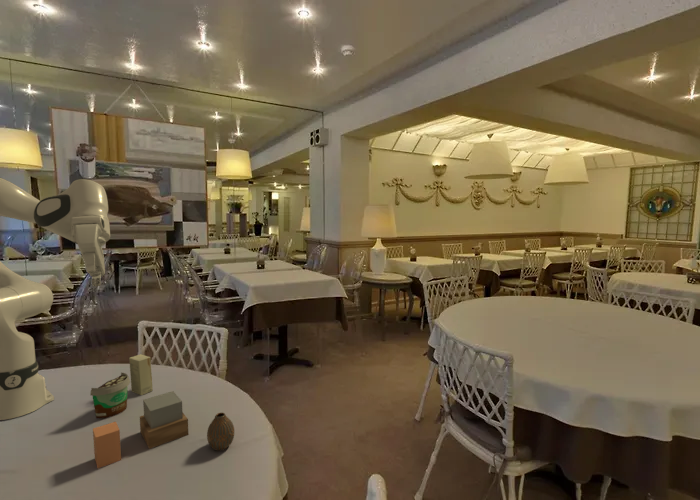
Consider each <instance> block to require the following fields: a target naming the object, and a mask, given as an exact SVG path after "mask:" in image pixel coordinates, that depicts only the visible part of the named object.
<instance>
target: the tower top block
mask: <svg viewBox="0 0 700 500" xmlns="http://www.w3.org/2000/svg"><path fill="white" fill-rule="evenodd" d="M142 400H143V402H142V404H143V415H144V417H145V419H146V421H147V422H148V424H149V426H150V427H151V429H153V428H156V427H159V426H162V425H165V424H168V423H171V422H174V421H177V420H180V419H182V418H183V413H184V412H183V401H182V400H181V398H180V397H179V396H178V395H177V394H176V392H175V391H174V390H173V391H169V392H165V393H162V394H158V395H156V396H155V395H154V396H152V397H148V398H145V399H142Z"/></svg>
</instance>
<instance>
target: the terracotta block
mask: <svg viewBox="0 0 700 500" xmlns="http://www.w3.org/2000/svg"><path fill="white" fill-rule="evenodd" d="M118 425H119V424H118V423H117V421H113V422H110V423H107V424H103V425H100V426H96V427H93V428H92V436H93V452H94V460H95V463H96V468H97V469H100V468H103V467H106V466H108V465H113V464H114V463H117V462H120V461H122V449H121V435H120V433H121V431H120V428H119V426H118Z"/></svg>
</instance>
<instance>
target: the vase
mask: <svg viewBox="0 0 700 500" xmlns="http://www.w3.org/2000/svg"><path fill="white" fill-rule="evenodd" d="M206 438H207V443H208V445H209V447H211V449H212V450H215V451H224V450H227V448H228V447H230V445H232V443H233V441H234V438H235V426H234V424H233V421H232V420H231V419H230V418H229V417H228V416H227V414H226V413H225V412H218V413H216V414H215V415H214V418H213V419H212V421H211V422H210V423H209V426H208V428H207V431H206Z"/></svg>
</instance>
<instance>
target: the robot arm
mask: <svg viewBox="0 0 700 500" xmlns="http://www.w3.org/2000/svg"><path fill="white" fill-rule="evenodd" d="M108 213H109V202H108V195H107V192H106V190H105V188H104V186H103V185H101V184H100V183H99V182H97V181H94V180H92V179H87V178H83V179H82V178H81V179H76V180H74V181H72V182H71V183H70V185H69V186H68V187H67V188H66V189H65V190H64V191H62V192H60V193H58V194H56V195H52V196H47V197H45V198H42V199H41V200H39V199H38V198H37V197H35V196H33V195H32V194H30V193H29V192H28V191H25V190H24V189H22V188H21V187H19V186H18V185H16V184H14V183H12V182H11V181H9V180H6V179H5V178H2V177H0V217H4V218H5V217H6V218H8V219H9V218H10V219H15V220H18V221H23V222H27V223H33V224H36V225H37V226H38V227H41V228H42V229H44V230H47V231H49V232H51V233H54V234H56V235H57V236H60V237H62V238H65V239H67V240H69V241H71V242H72V243H74V244H76V245H77V246H78V249H79V251H80V254H81V256H82V258H83V260H84V264H85V270H86V272H87V273H88V274H89V275H90V277H91V284H92V286H93V287H100V286H101V277H102V276H105V274H106V267H105V255H104V251H103V246H105V245H106V244H107V242H108V241H110V239H111V229H110V228H111V227H110V219H109V217H108ZM53 301H54V293H53V291H52V290H51V289H50V287H49V286H47V285H46V284H45V283H41V282H36V281H33V280H31V279H28V278H26V277H24V276H22V275H20V274H18V273H16V272H15V271H13V270H12V269H10V268H8V267H7V266H6V265H5V264H4V263H3V262H2V261H1V260H0V421H4V420H11V419H14V418H18V417H21V416H25V415H27V414H30V413H32V412H34V411H36V410H39V409H40V408H42V407H43V406H45V405H46V404H48V403H51V402H53V401H54V400H55V396H54V395H53V394H52V392H50V391H49V390H48V389H47V386H46V379H45V377H44V376H43V375H41V374H39V373H38V372H39V363H38V360H37V359H36V349H35V340H34V338H33V337H32V336H31V335H30V334H29V333H25V332H22V331H18V329H17V327H16V324H15V322H17V321H20V320H24V319H28V318H33V317H34V316H37V315H39V314H41V313H43V312H45V311H47V310H49V309H50V308H51V307H52V305H53Z"/></svg>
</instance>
